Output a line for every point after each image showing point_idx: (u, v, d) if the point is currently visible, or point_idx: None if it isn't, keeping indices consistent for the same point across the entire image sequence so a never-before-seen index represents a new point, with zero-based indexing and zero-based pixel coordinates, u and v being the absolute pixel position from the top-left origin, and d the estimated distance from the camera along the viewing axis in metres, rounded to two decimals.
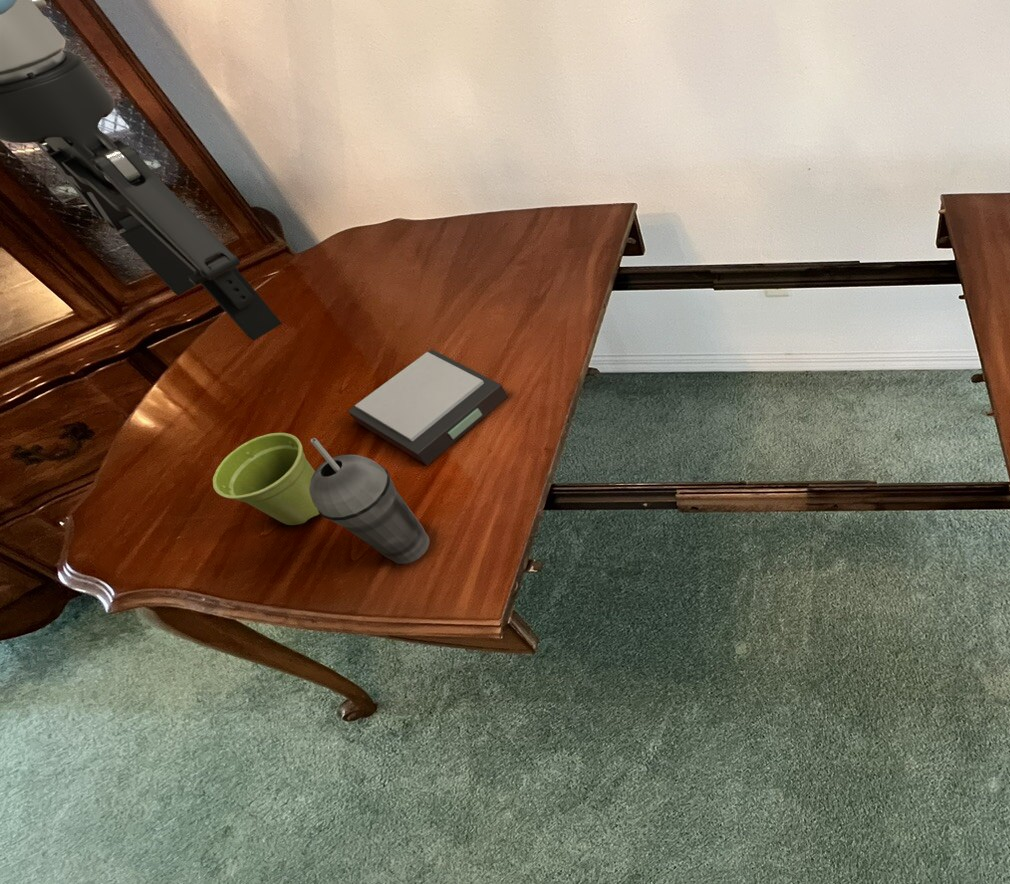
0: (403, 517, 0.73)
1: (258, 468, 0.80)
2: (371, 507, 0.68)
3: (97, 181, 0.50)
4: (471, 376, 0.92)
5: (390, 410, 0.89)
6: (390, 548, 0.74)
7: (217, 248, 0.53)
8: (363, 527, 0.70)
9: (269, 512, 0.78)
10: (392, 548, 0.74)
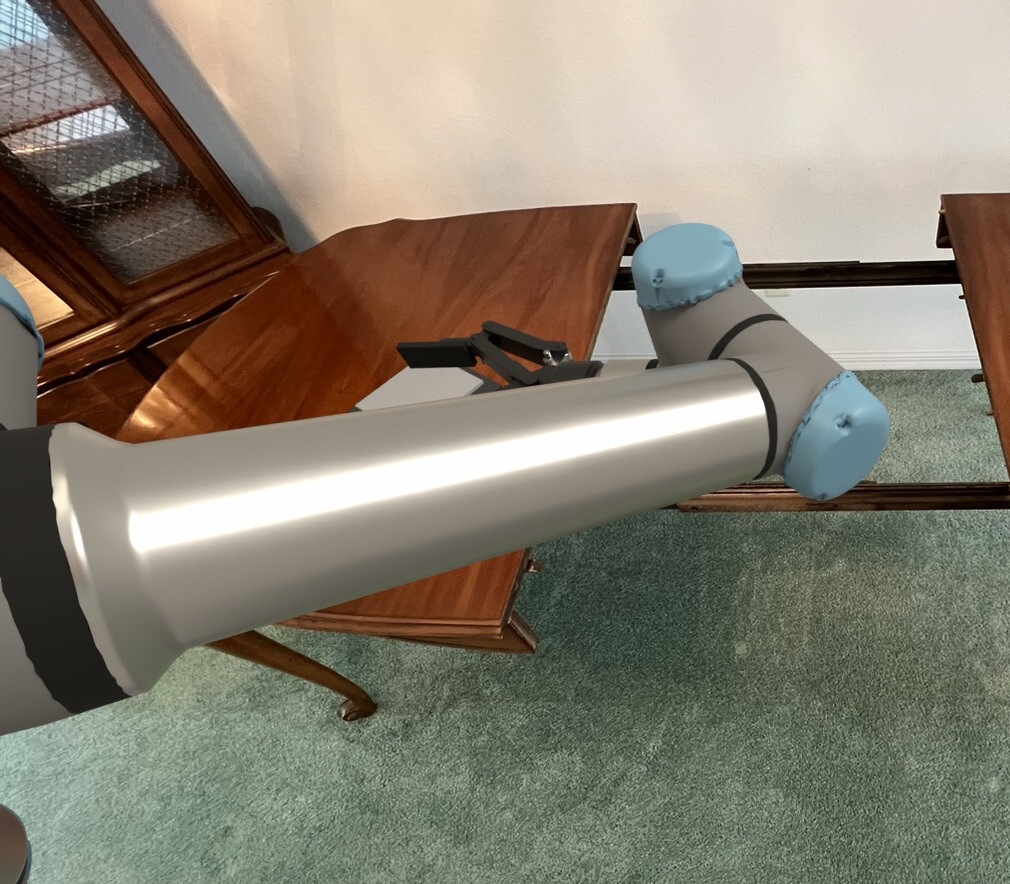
0: None
1: None
2: None
3: None
4: (471, 376, 0.92)
5: None
6: None
7: None
8: None
9: None
10: None
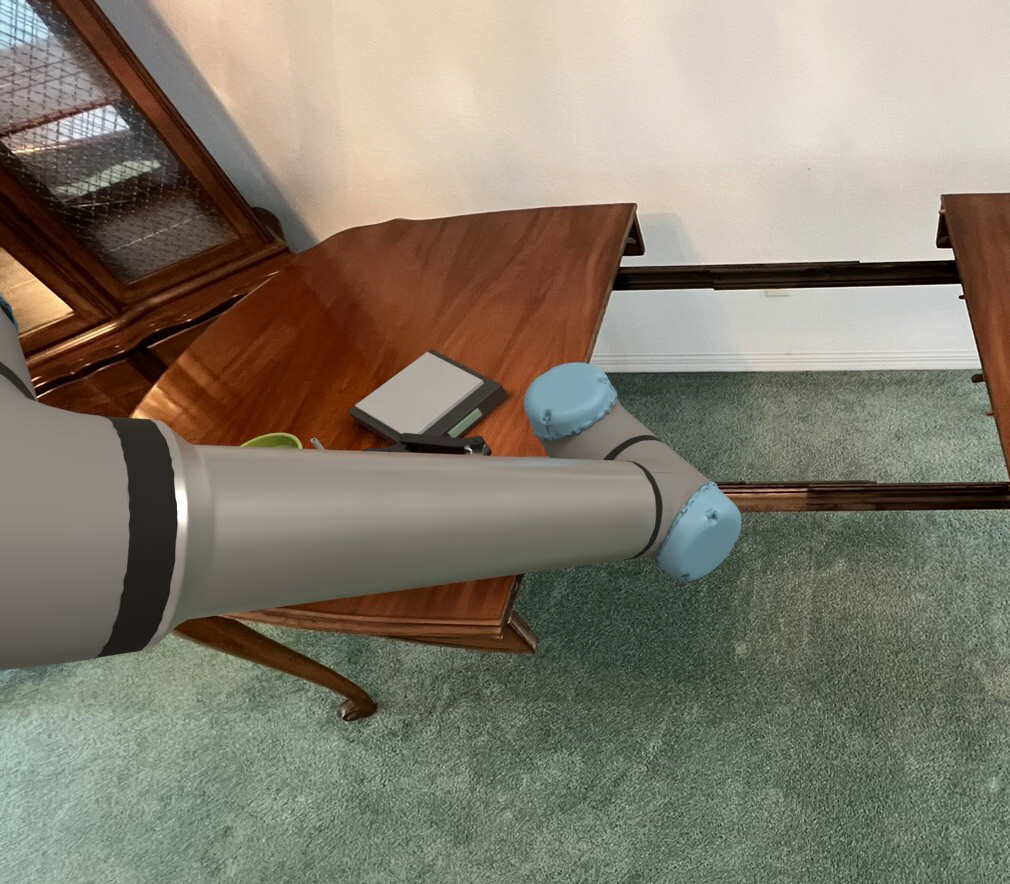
0: None
1: None
2: None
3: None
4: (471, 376, 0.92)
5: (390, 410, 0.89)
6: None
7: None
8: None
9: None
10: None
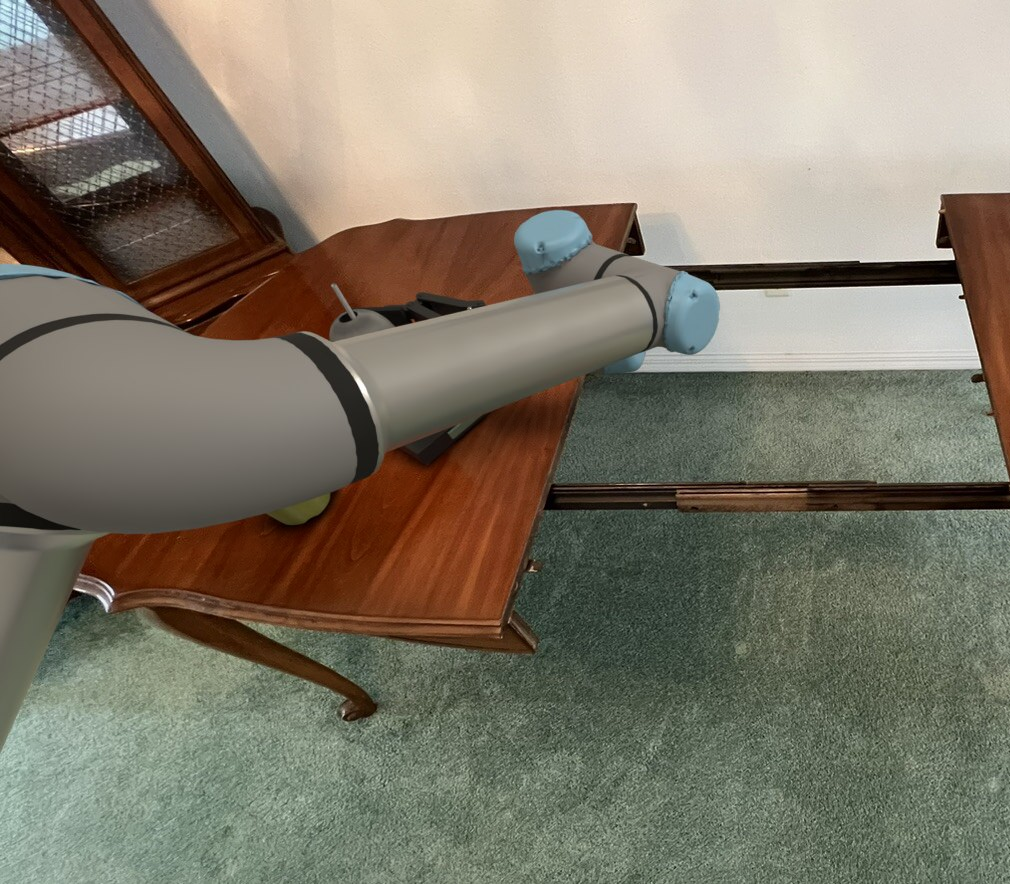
0: None
1: None
2: None
3: None
4: None
5: None
6: None
7: None
8: None
9: (269, 512, 0.78)
10: None
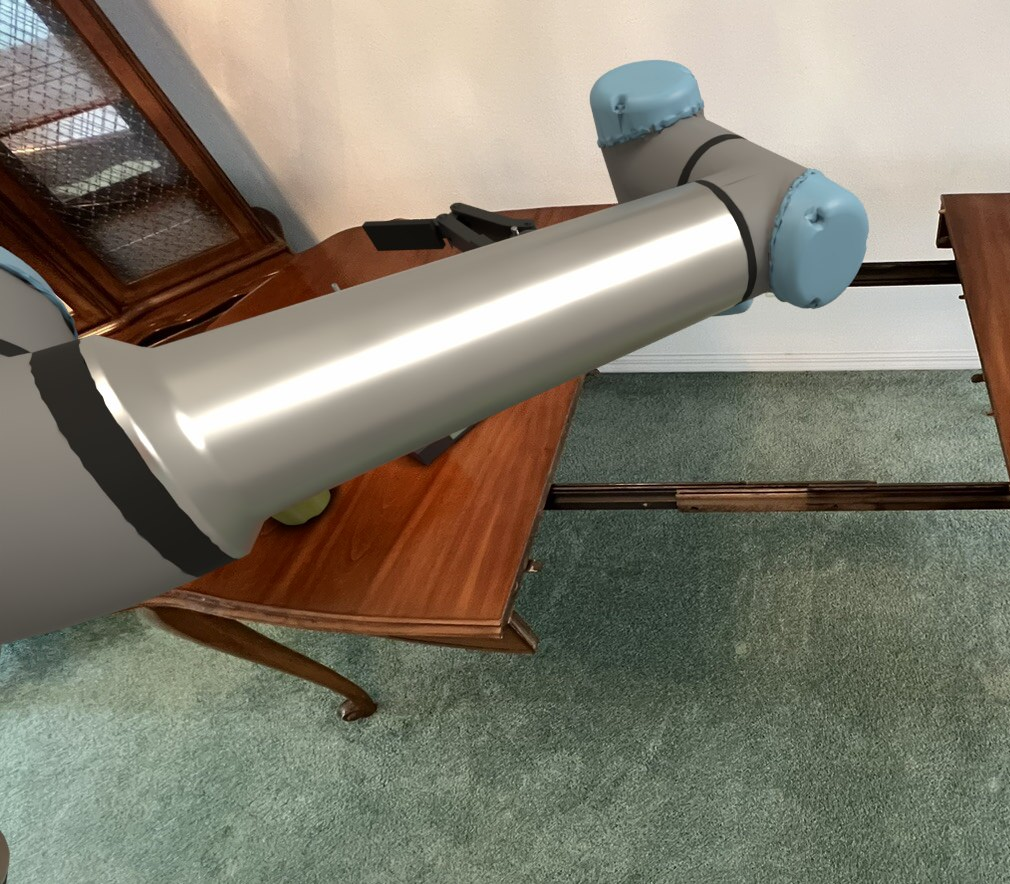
0: None
1: None
2: None
3: None
4: None
5: None
6: None
7: None
8: None
9: None
10: None
